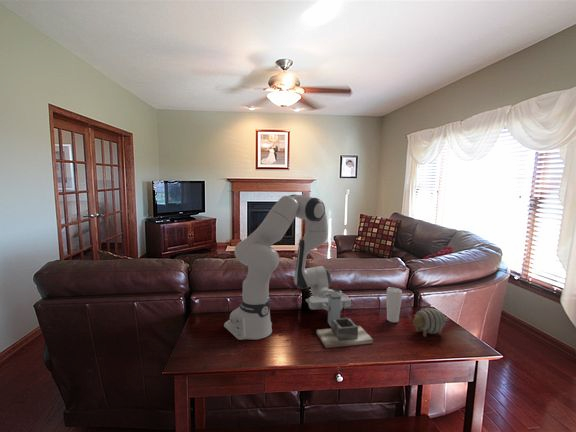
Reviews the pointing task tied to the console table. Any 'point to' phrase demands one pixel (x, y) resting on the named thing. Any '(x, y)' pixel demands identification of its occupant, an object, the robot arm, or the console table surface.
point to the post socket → (343, 334)
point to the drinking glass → (393, 304)
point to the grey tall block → (334, 307)
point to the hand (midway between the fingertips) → (334, 309)
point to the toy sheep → (429, 321)
